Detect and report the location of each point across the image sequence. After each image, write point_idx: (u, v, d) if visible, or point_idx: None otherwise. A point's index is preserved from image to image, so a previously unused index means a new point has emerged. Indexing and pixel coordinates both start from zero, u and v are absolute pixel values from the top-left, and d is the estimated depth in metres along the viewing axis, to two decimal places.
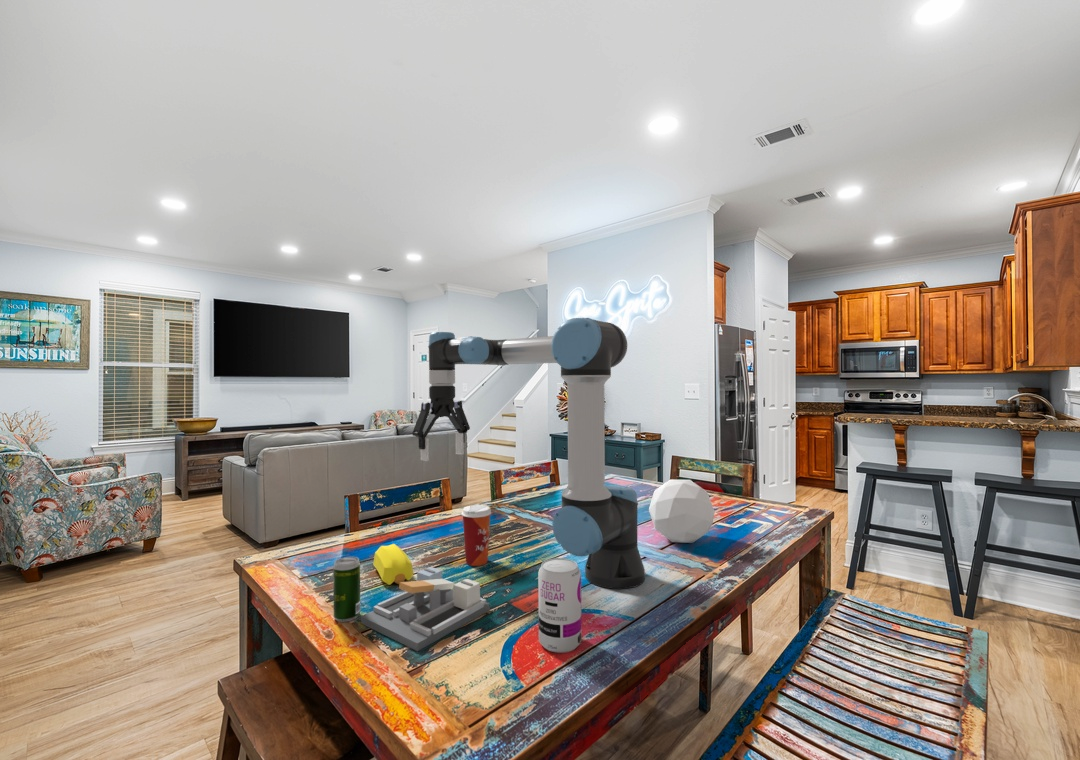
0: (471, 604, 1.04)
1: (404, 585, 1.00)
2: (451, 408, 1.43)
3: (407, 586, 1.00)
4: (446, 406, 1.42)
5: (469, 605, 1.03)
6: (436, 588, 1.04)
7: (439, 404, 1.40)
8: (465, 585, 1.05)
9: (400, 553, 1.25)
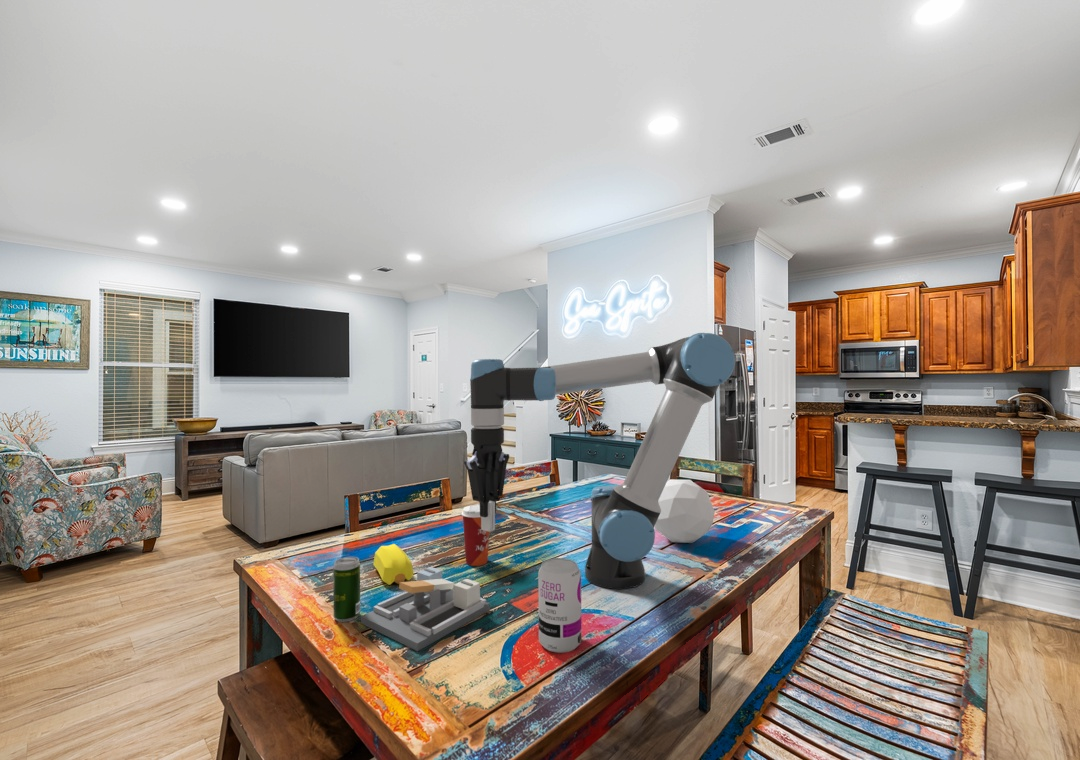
0: (471, 604, 1.04)
1: (404, 585, 1.00)
2: (497, 457, 1.11)
3: (407, 586, 1.00)
4: (493, 452, 1.11)
5: (469, 605, 1.03)
6: (436, 588, 1.04)
7: (483, 450, 1.09)
8: (465, 585, 1.05)
9: (400, 553, 1.25)
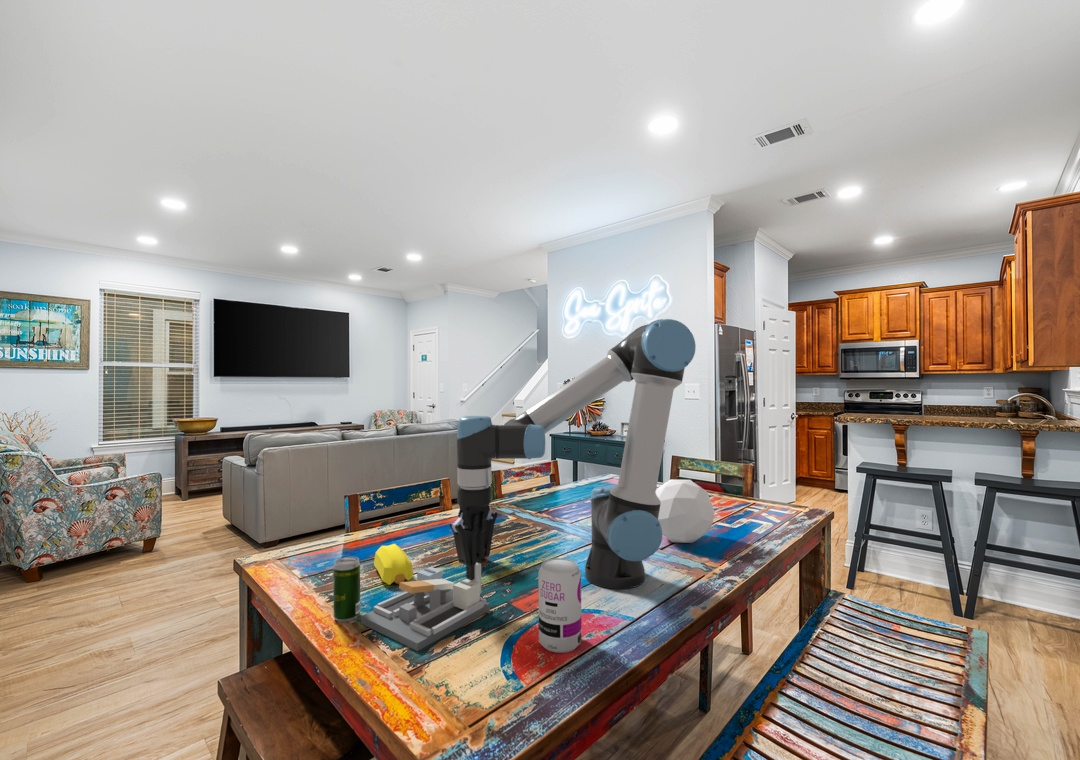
0: (471, 604, 1.04)
1: (404, 585, 1.00)
2: (485, 518, 1.08)
3: (407, 586, 1.00)
4: (480, 512, 1.08)
5: (469, 605, 1.03)
6: (436, 588, 1.04)
7: (470, 511, 1.05)
8: (465, 585, 1.05)
9: (400, 553, 1.25)
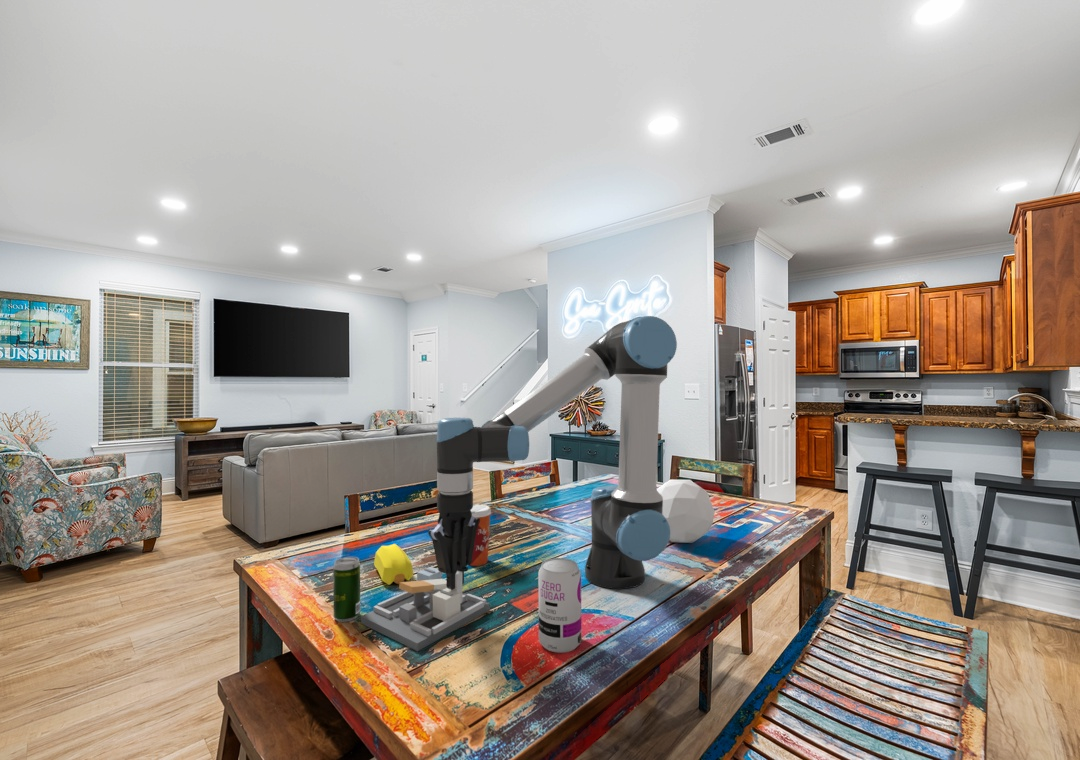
0: (451, 615, 0.99)
1: (404, 585, 1.00)
2: (466, 524, 1.03)
3: (407, 586, 1.00)
4: (461, 518, 1.03)
5: (448, 616, 0.99)
6: (436, 588, 1.04)
7: (450, 518, 1.00)
8: (445, 595, 1.00)
9: (400, 553, 1.25)
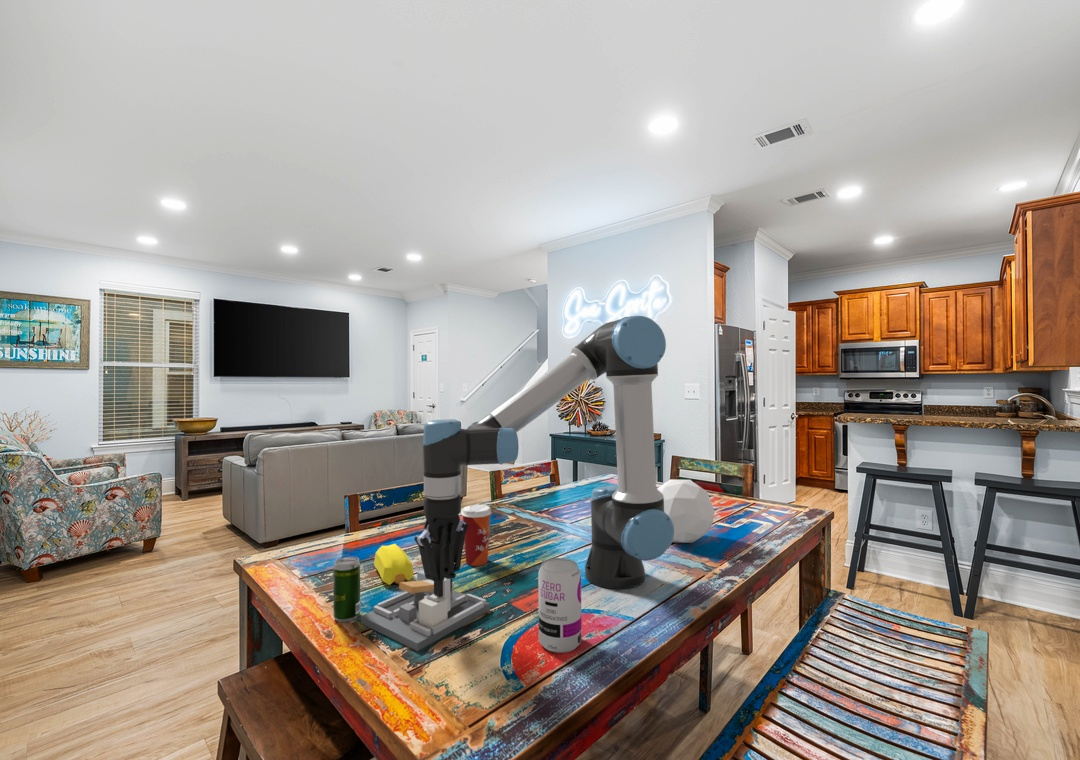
0: (437, 622, 0.96)
1: (404, 585, 1.00)
2: (454, 529, 1.00)
3: (407, 586, 1.00)
4: (449, 523, 1.00)
5: (435, 623, 0.96)
6: None
7: (437, 523, 0.97)
8: (431, 601, 0.97)
9: (400, 553, 1.25)
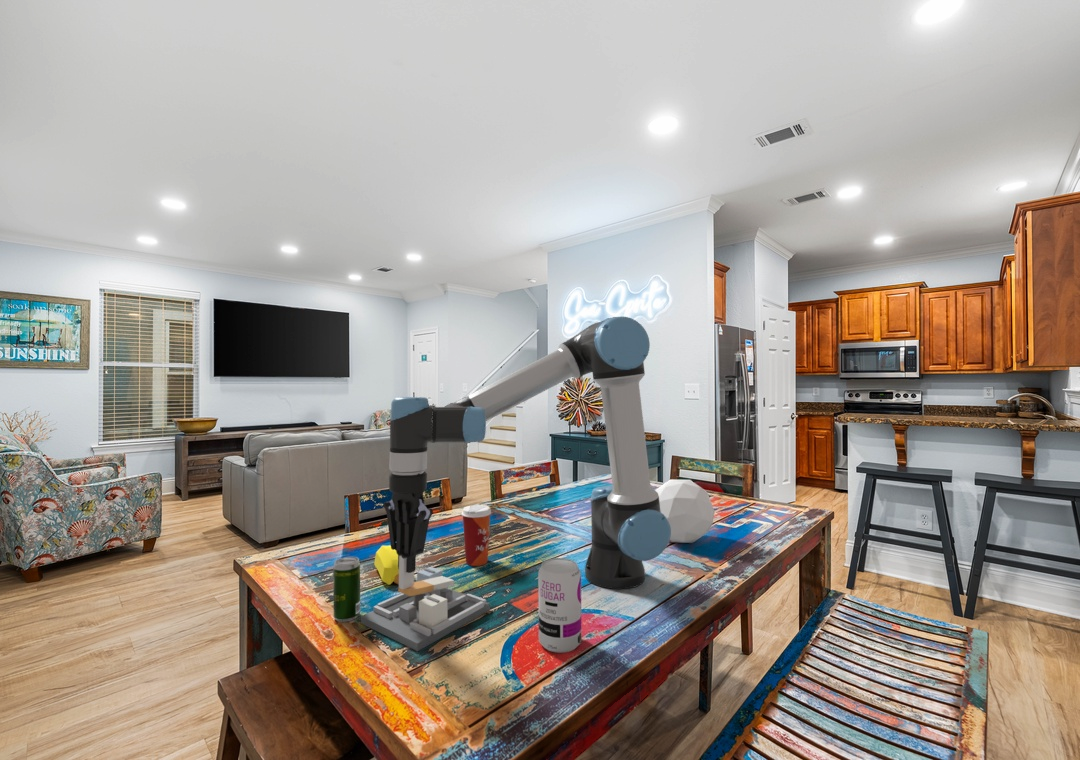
0: (437, 622, 0.96)
1: None
2: (404, 509, 0.98)
3: (406, 589, 0.99)
4: (405, 501, 0.99)
5: (435, 623, 0.96)
6: (436, 588, 1.04)
7: (395, 495, 1.01)
8: (431, 601, 0.97)
9: None
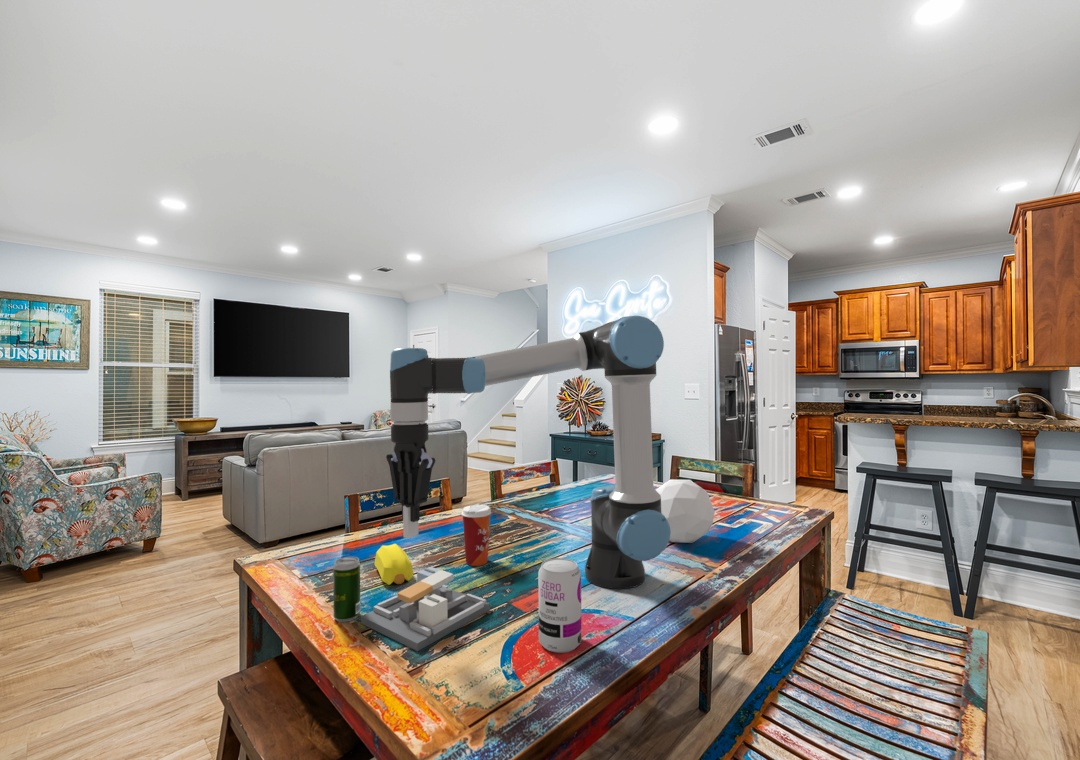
0: (437, 622, 0.96)
1: (402, 596, 1.00)
2: (407, 458, 0.99)
3: (405, 597, 0.99)
4: (407, 451, 1.00)
5: (435, 623, 0.96)
6: (435, 587, 1.04)
7: (397, 446, 1.02)
8: (431, 601, 0.97)
9: (400, 553, 1.25)
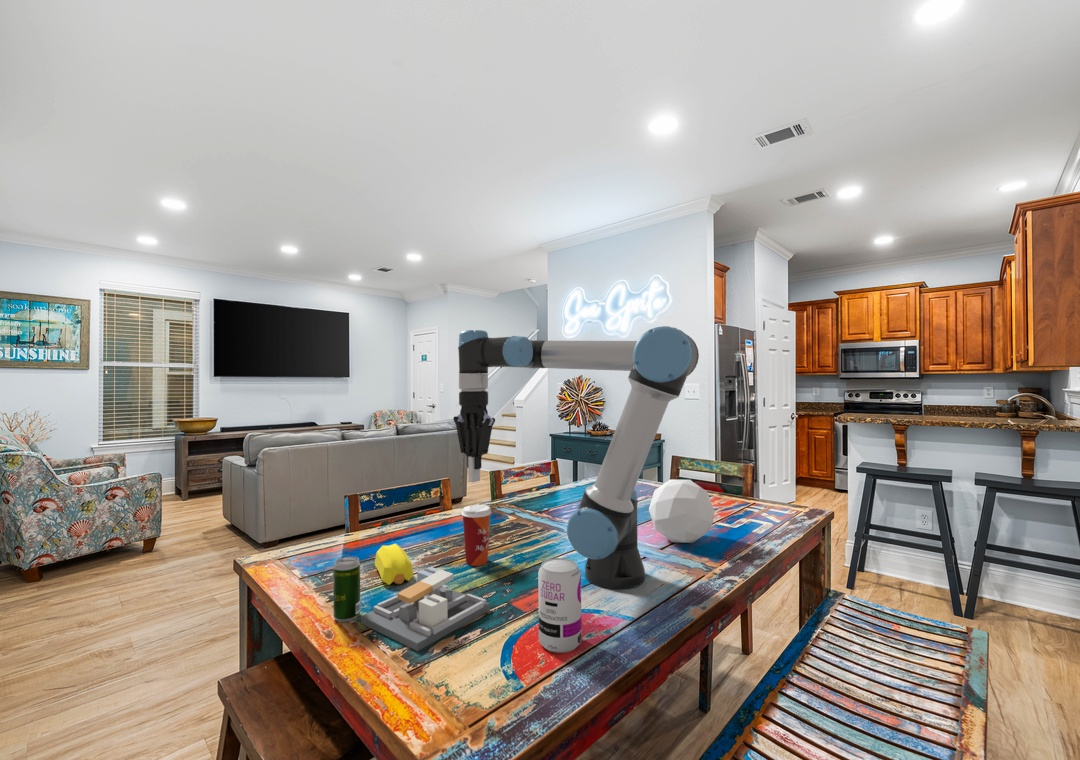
0: (437, 622, 0.96)
1: (402, 596, 1.00)
2: (472, 418, 1.24)
3: (405, 597, 0.99)
4: (472, 413, 1.25)
5: (435, 623, 0.96)
6: (435, 587, 1.04)
7: (463, 409, 1.27)
8: (431, 601, 0.97)
9: (400, 553, 1.25)
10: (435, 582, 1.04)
